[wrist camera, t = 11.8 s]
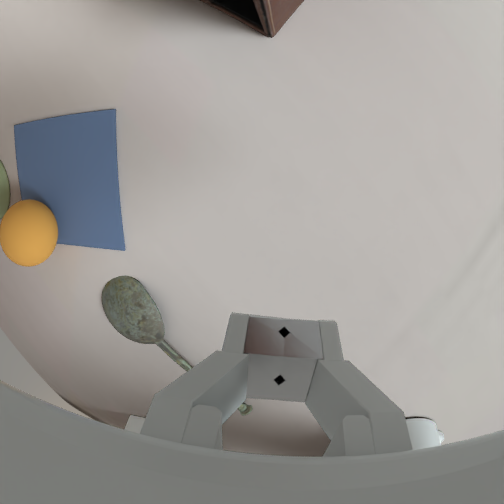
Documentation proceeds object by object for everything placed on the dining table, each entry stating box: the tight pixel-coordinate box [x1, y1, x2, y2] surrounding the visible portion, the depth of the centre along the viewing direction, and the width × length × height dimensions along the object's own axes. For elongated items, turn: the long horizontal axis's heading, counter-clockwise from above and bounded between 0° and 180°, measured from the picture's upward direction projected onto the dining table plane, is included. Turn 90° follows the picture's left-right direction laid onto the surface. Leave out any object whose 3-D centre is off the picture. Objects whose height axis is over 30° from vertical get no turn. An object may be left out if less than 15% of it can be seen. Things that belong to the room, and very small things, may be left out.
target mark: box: [14, 109, 125, 251], centre depth 23 cm, size 12×12×1 cm
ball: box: [0, 199, 58, 267], centre depth 23 cm, size 6×6×6 cm
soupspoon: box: [102, 276, 252, 415], centre depth 30 cm, size 22×3×7 cm
